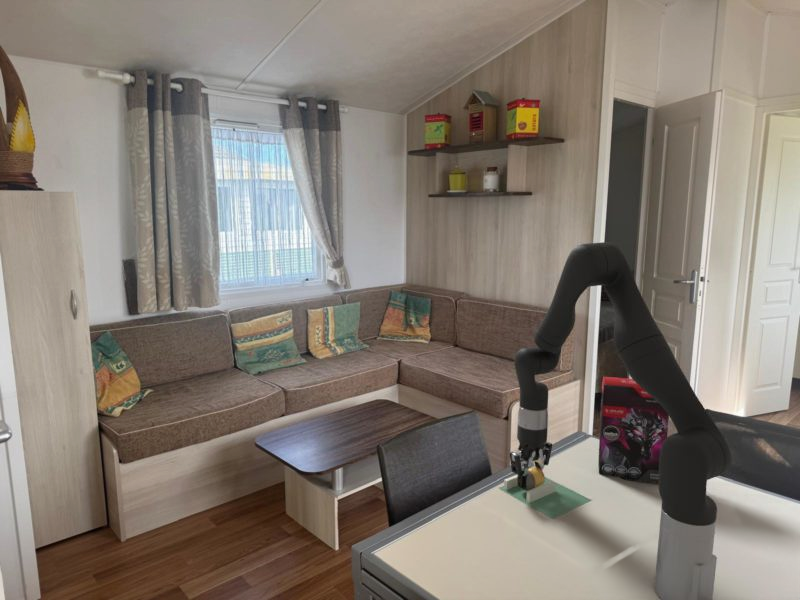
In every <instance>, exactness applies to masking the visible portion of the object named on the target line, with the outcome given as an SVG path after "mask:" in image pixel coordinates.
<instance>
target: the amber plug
mask: <svg viewBox="0 0 800 600" xmlns="http://www.w3.org/2000/svg"><path fill="white" fill-rule="evenodd" d="M526 476H527V479H526V489H523V490H524V491H528V490H531V489H533V488H536V487H538V486H540V485H543V484H544V482H545V477H546V476H545V473H544V472H543V469H542V470H541V469H540V468H538V467H535V466H533V467H530V468H528V472H527V475H526ZM517 481H518V476H517Z"/></svg>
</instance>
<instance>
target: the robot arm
mask: <svg viewBox="0 0 800 600" xmlns="http://www.w3.org/2000/svg"><path fill="white" fill-rule="evenodd" d="M597 286H602V288H603V289H604V291H605V293H606V294H607V296H608V298H609V300H610V303H611V305H612V308H613V313H614V325H613V341H614V342H613V343H614V346H615V350H616V352H617V354H618V356H619V358H620V360H621V361H622V364H623V366H624V368H625V370H626V371H627V373H628V375H629V376H630V379H633V380H634V381H635V382H636V383H637V384H638V385H639V386H640V387H641V388H642V389H643V390H645V391H646V392H647V393H648V394H649V395H650V396H652V397H653V398H654V399H655V400H656V401H657V402H658V403H659V404H660V405H661V406H662V407H663V408H664V409H665V411H666V412H667V413H668V415H669V418H670V420H671V422H672V424H673V426H674V427H675V429H676V432H675V433H673V434H670V435H669V436H668V435H667V438H666V439H665V440H664V442H663V444H662V446H661V450H660V457H659V484H658V493H659V496H660V499H661V509H660V518H659V519H660V520H659V521H660V522H659V529H658V531H659V532H658V540H657V553H656V566H655V575H654V586H653V587H654V591H655V594H656V595H657V596H658V598H660V599H661V600H713V598H714V588H715V587H714V585H715V580H716V570H717V569H716V568H717V560H718V558H717V555H715V554H713V552H714V543H715V534H716V533H715V532H716V523H717V516H718V506H717V503H716V502H715V500H714V499H712V497H710V496H709V495H707V483H708V480H712V479H714V478H716V477H719V476H722V475H723V474H725V473H727V472H728V470H729V469H730V467H731V465H732V451H731V449H730V446H729V444H728V441H727V440H726V438H725V436H724V435H723V433H722V431H721V430H720V429H719V427H718V426H717V425H716V423H715V422H714V420H713V419H712V417H711V415H710V414H709V413H708V411H707V410H706V409H705V407H704V405H703V404H702V402H701V401H700V399H699V397H698V396H697V395H696V393H695V391H694V390H693V388H692V386H691V384H690V382H689V380H688V379H687V377H686V375H685V373H684V372H683V370H682V369H681V367H680V365H679V363H678V361H677V360H676V359H677V358H676V357H675V355H674V353H673V351H672V349H671V347H670V345H669V344H668V342H667V340H666V338H665V336H664V335H663V333H662V331H661V330H660V328H659V326H658V324H657V323H656V321H655V318H654V317H653V315H652V313H651V312H650V309H649V307H648V306H647V304H646V301H645V300H644V297H643V295H642V294H641V292H640V289H639V286H638V285H637V282H636V280H635V278H634V275H633V273H632V270H631V267H630V265H629V262H628V260H627V258H626V256H625V255H624V253H623V251H622V250H621V248H619V246H618V245H616V244H614V243H612V242H606V241H604V242H591V243H582V244H580V245H576V246H574V247H573V249H572V250H571V251H570V253H569V255H568V256H567V258H566V261H565V263H564V266H563V269H562V271H561V274H560V278H559V280H558V283H557V286H556V289H555V292H554V295H553V298H552V301H551V303H550V305H549V308H548V310H547V312H546V313H545V315H544V317H543V319H542V320H541V322H540V324H539V326H538V328H537V329H536V331H535V334H534V337H533V339H534V343H535V345H536V346H530V347H523V348H519V350H518V351H517V352H516V354H515V356H514V362H513V363H514V369H515V373H516V377H517V382H518V387H519V405H518V413H517V427H516V428H517V430H516V435H517V436H516V438H517V440H518V443H519V445H518V448H517V450H516V451H515V452H513V451H510V452H509V461H510V467H511V468H510V469H511V473H513V474H514V475H518V483H517V484H518V486H519V487H520V488H522V489H526V479H527V476H526V475H527V472H528V469H530V468H532V464H533V467H538V468H540V469H541V470H542V471H543V470H544V469H545V466H549V463H550V460H551V459H550V458H551V454H552V449H553V443H552V442H549V441H548V430H549V429H548V426H549V409H548V408H549V406H548V405H549V388H548V386H547V385H546V383H543V382H540V381H536V377H535V376H537V375H545V374H549V373H551V372H553V371H554V370H555V369H556V368H557V367H558V365H559V362H560V357H561V352H562V348H563V346H564V344H565V343H566V341H567V339H568V337H569V336H570V335H571V333H572V331H573V329H574V327H575V323H576V306H577V305H576V304H577V301H578V300H579V298H580V297H581V296H582V294H583V293H584V292H585V291H586V290H587V289H588V288H589V287H597ZM544 457H545V459H544ZM522 468H523V469H522Z"/></svg>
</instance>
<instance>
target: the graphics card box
mask: <svg viewBox="0 0 800 600" xmlns="http://www.w3.org/2000/svg"><path fill="white" fill-rule="evenodd" d="M602 377H603V378H602V387H601V403H600V423H599V438H598V439H599V441H598V446H599V447H598V460H597V461H598V463H597V464H598V466H597V467H598V475H601V476H609V477H615V478H619V479H623V480H626V481H628V480H629V481H636V482H643V483H651V484H658V485H659V457H660V450H661V446H662V444H663V442H664V440H665V439H666V438H667V437H668V429H669V418H670V417H669V415H668V413H667V412H666V411H665V409H664V408H663V407H662V406H661V405H660V404H659V403H658V402H657V401H656V400H655V399H654V398H653V397H652V396H650V395H649V394H648V393H647V392H646V391H645V390H643V389H642V388H641V387H640V386H639V385H638V384H637V383H636V382H635V381H634V380H633V379H632V378H625V377H624V378H623V377H611V376H602Z"/></svg>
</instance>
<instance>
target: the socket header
mask: <svg viewBox="0 0 800 600" xmlns="http://www.w3.org/2000/svg"><path fill="white" fill-rule="evenodd" d="M517 476H518V475H517V474H514V475H512V476H510V477H508V478H505V479H504V480H503V486H504V489H505V490H508V489H511V488H513V487H516V486H518V484H517V483H518V481H517ZM556 483H557V482H556V481H555V480H552V482H549V483H547V484H545V485H542V486H540V487H538V488H535V489H533V490H530V491H528V492H527V499H526V501H527V502H529V503H530V502H533V501H535V500H537V499H540V498H542V497H544V496H546V495H549V494H551V493H553V492H556Z"/></svg>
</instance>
